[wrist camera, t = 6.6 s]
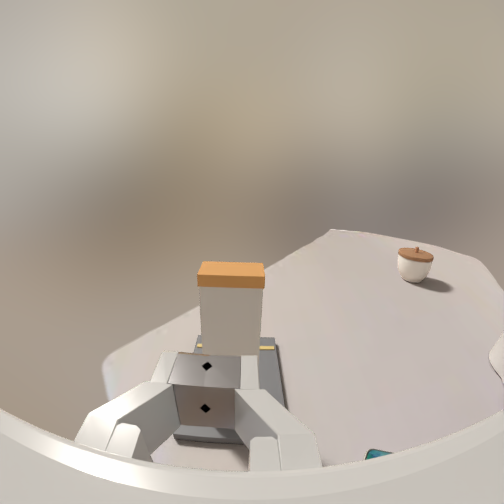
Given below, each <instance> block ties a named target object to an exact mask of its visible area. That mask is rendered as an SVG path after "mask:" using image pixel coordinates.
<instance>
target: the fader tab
mask: <svg viewBox="0 0 504 504" xmlns="http://www.w3.org/2000/svg"><path fill="white" fill-rule="evenodd" d="M197 279H198V286H199V294H200V318H201V336H202V352H203V354H208V355H223V356H248V355H257V357H258V364H259V348H260V332H261V315H262V297H263V289H264V286H265V273H264V267H263V263H237V262H208V261H203V263H202V265H201V268H200V270H199V272H198V274H197ZM240 376H241V373H240Z"/></svg>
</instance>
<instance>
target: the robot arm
mask: <svg viewBox="0 0 504 504" xmlns="http://www.w3.org/2000/svg"><path fill="white" fill-rule="evenodd" d="M489 360H490V363H491V365H492V366H493V368H494V369H495V371H496V372H497V373H498V374H499V376H500V377H501V378H502V381H503V384H504V331H503V333H502V334H501V336H500V338H499V339H498V341H497V342H496V344H495V345H494V346H493V347H492V349H491V350H490V352H489ZM240 373H241V376H240ZM180 425H187V426H201V427H214V428H227V429H235V431H236V433H237V434H238V435H239V437H240V438H241V440H242V441H243V442H244V444H245V445H246V446H247V448H248V449H249V450H250V451H249V465H248V471H220V470H206V469H195V468H186V467H179V466H172V465H165V464H159V463H153V460H152V458H151V456H150V454H152V453H153V452H154V451H155V450H156V449H157V448H158V447H159V446H160V445H161V444H162V443H163V442H165V441H166V440H167V439H168V438H169V437H170V436H171V435H172V434H173V433H174V432H175V431H176V430H177V429H178V428H179V427H180ZM0 504H504V409H503V410H502V411H500V412H498V413H496V414H494V415H492V416H490V417H488V418H486V419H484V420H482V421H480V422H478V423H476V424H474V425H472V426H469V427H467V428H465V429H462V430H460V431H458V432H455V433H453V434H450V435H448V436H445V437H443V438H440V439H437V440H434V441H432V442H429V443H426V444H423V445H420V446H417V447H413V448H410V449H407V450H403V451H400V452H396V453H392V454H389V455H385V456H380V457H376V458H372V459H367V460H362V461H357V462H352V463H346V464H340V465H334V466H326V467H322V463H321V459H320V454H319V450H318V446H317V441H316V437H315V433H314V432H312V431H311V430H310V429H309V428H308V427H306V426H305V425H304V424H303V423H302V422H301V421H299V420H298V419H297V418H296V417H295V416H294V415H292V414H291V413H290V412H289V411H288V410H287V409H286V408H285V407H283V406H282V405H281V404H280V403H279V402H278V401H277V400H276V399H275V398H274V397H272V396H271V395H270V394H269V393H268V392H267V391H266V390H265V389H260V383H259V367H258V357H257V355H248V356H223V355H208V354H197V353H186V352H175V351H165V350H164V351H163V352H162V353H161V356H160V358H159V361H158V363H157V365H156V368H155V370H154V373H153V375H152V377H151V380H150V382H149V381H145V382H143V383H141V384H140V385H138V386H136V387H134V388H133V389H131V390H129V391H128V392H126V393H124V394H122V395H121V396H119V397H117V398H115V399H114V400H112V401H110V402H108V403H106V404H105V405H103V406H101V407H99V408H98V409H96V410H94V411H92V412H90V413H89V414H88V416H87V418H86V419H85V421H84V423H83V425H82V427H81V429H80V431H79V432H78V434H77V436H76V438H75V440H74V441H71V440H68V439H66V438H63V437H60V436H58V435H55V434H52V433H50V432H48V431H45V430H43V429H41V428H38V427H36V426H34V425H32V424H29V423H27V422H25V421H23V420H21V419H19V418H17V417H15V416H13V415H11V414H9V413H7V412H6V411H4V410H2V409H0Z"/></svg>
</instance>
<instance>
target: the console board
mask: <svg viewBox="0 0 504 504" xmlns="http://www.w3.org/2000/svg"><path fill="white" fill-rule="evenodd" d="M194 353H197V354H203V352H202V336H201V335H198V338H197V342H196V345H195V349H194ZM258 367H259V383H260V389H265V390H266V391H267V392H268V393H269V394H270V395H271V396H272V397H274V398H275V399H276V400H277V401H278V402H279V403H280V404H281V405H282V406H283V407H285V406H284V399H283V392H282V385H281V379H280V372H279V365H278V358H277V352H276V345H275V338H266V337H260V348H259V364H258ZM173 435H174V439H181V440H190V441H200V442H212V443H230V444H244V442H243V441H242V440H241V438H240V437H239V435H238V434H237V433H236V431H235V429H227V428H214V427H201V426H187V425H180V427H179V428H178V429H177V430H176V431H175V432H174V433H173Z"/></svg>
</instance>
